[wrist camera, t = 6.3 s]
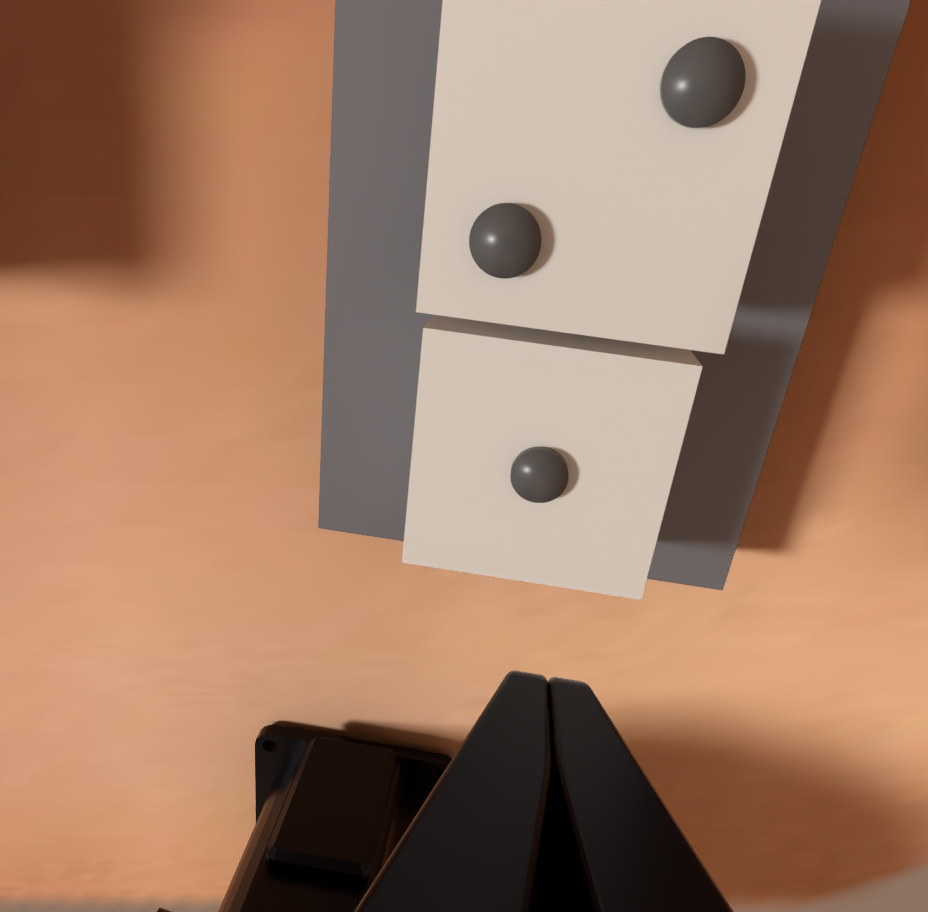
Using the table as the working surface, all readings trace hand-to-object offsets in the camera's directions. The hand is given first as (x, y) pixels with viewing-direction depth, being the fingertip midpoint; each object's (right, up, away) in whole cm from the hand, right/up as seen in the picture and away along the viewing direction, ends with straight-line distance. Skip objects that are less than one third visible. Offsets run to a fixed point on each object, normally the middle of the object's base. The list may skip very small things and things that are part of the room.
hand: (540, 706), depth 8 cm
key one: (+1, +3, +8) cm, 8 cm away
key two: (+1, +8, +5) cm, 9 cm away
